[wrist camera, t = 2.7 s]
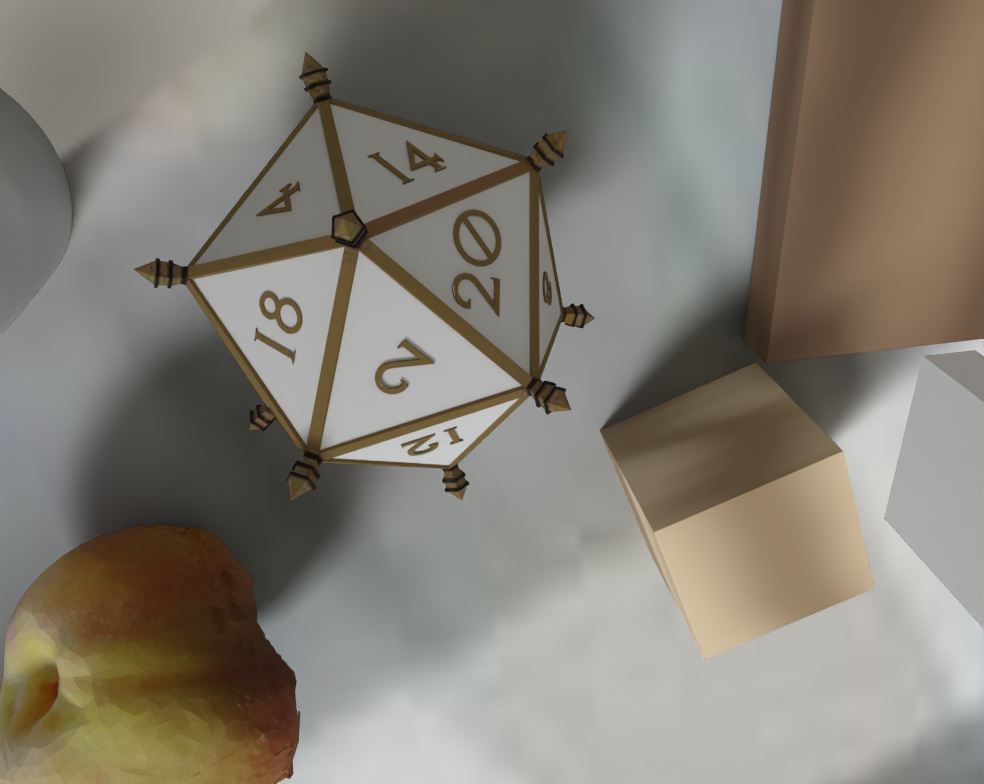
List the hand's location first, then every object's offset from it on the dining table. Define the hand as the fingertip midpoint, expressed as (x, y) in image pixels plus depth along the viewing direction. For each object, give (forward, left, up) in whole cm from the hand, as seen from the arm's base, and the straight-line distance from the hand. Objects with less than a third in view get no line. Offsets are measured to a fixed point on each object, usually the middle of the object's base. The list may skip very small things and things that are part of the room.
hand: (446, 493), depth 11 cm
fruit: (-7, -10, -12) cm, 17 cm away
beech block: (+9, -8, -12) cm, 17 cm away
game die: (0, 0, -12) cm, 12 cm away
